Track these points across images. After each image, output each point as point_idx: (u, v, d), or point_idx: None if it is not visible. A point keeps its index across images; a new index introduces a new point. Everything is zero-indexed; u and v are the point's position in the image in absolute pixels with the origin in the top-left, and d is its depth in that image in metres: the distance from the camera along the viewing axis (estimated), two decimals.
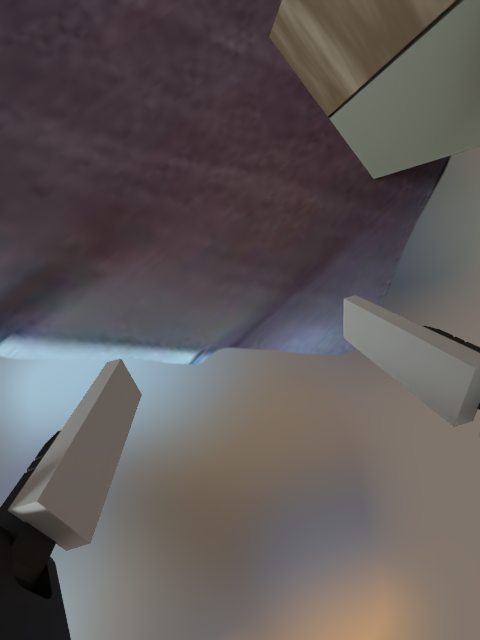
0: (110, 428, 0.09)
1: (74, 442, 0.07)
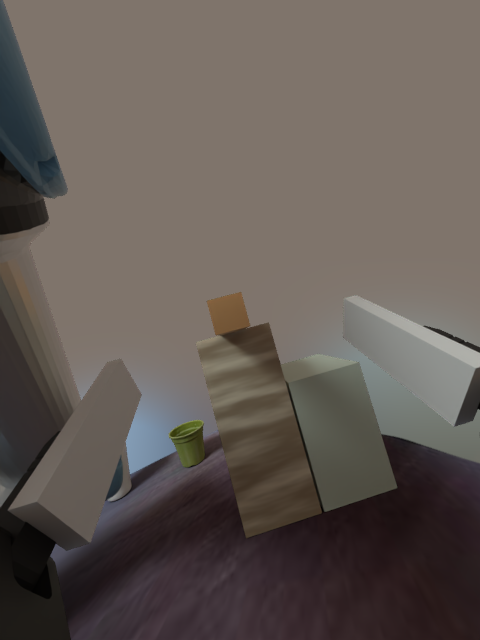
0: (110, 428, 0.09)
1: (74, 442, 0.07)
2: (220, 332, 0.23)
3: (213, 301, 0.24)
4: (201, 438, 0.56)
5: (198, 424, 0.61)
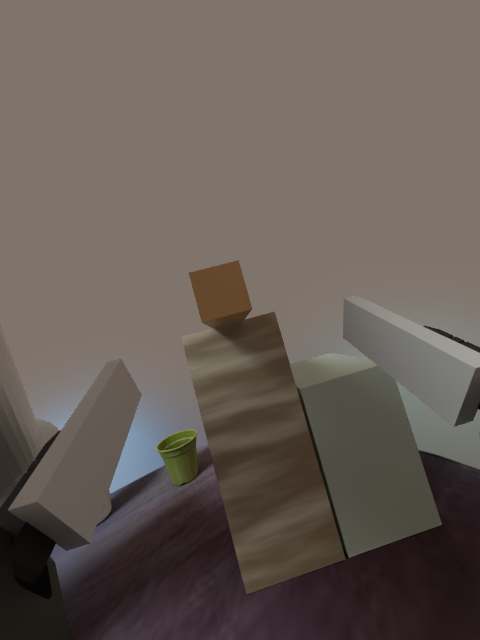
0: (110, 428, 0.09)
1: (74, 442, 0.07)
2: (208, 318, 0.16)
3: (198, 273, 0.16)
4: (194, 451, 0.48)
5: (191, 434, 0.53)
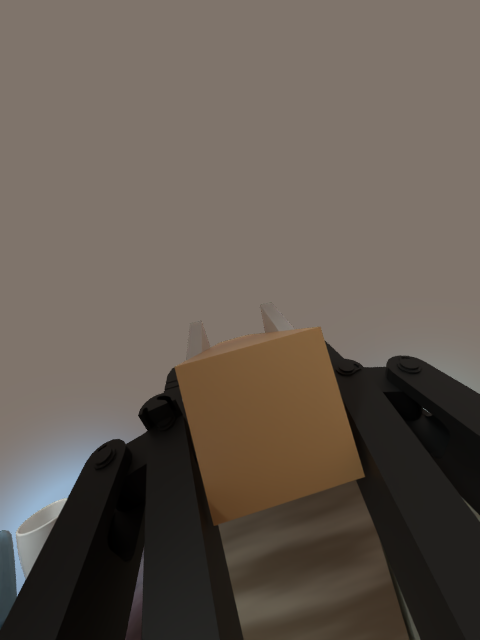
0: None
1: None
2: (234, 512, 0.05)
3: (203, 369, 0.05)
4: None
5: None
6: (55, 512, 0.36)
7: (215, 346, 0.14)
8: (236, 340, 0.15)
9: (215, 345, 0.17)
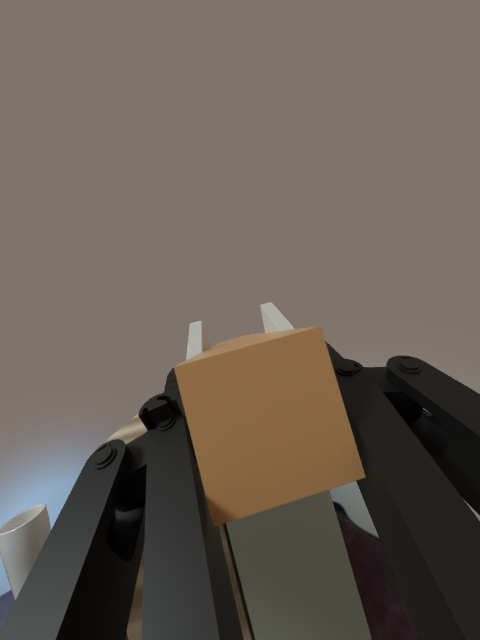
0: None
1: None
2: (234, 513, 0.05)
3: (203, 369, 0.05)
4: None
5: None
6: (32, 515, 0.44)
7: (215, 346, 0.14)
8: (236, 340, 0.15)
9: (215, 345, 0.17)
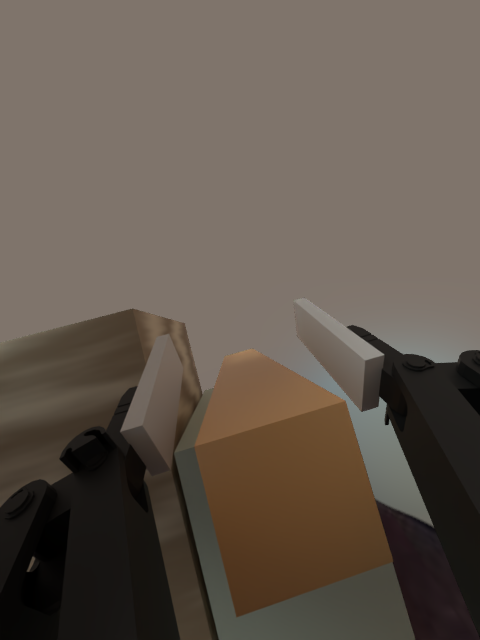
0: (170, 388, 0.11)
1: (153, 390, 0.09)
2: (258, 602, 0.05)
3: (224, 448, 0.05)
4: None
5: None
6: None
7: (223, 375, 0.14)
8: (244, 367, 0.15)
9: (221, 369, 0.17)
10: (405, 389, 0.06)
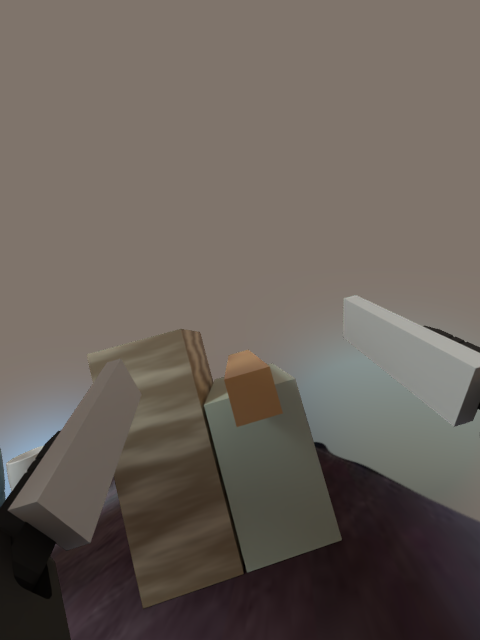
0: (110, 428, 0.09)
1: (74, 442, 0.07)
2: (242, 423, 0.17)
3: (233, 380, 0.18)
4: None
5: None
6: None
7: (229, 364, 0.27)
8: (241, 360, 0.27)
9: (228, 362, 0.30)
10: None
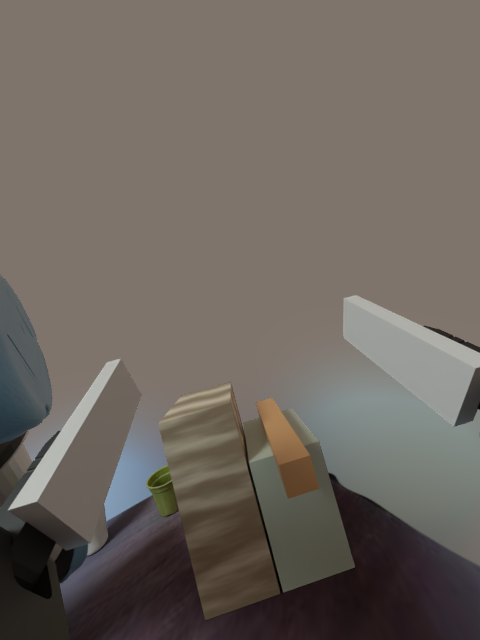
0: (110, 428, 0.09)
1: (74, 442, 0.07)
2: (292, 496, 0.25)
3: (284, 465, 0.25)
4: None
5: None
6: None
7: (268, 430, 0.34)
8: (276, 426, 0.35)
9: (264, 423, 0.37)
10: None
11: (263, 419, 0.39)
